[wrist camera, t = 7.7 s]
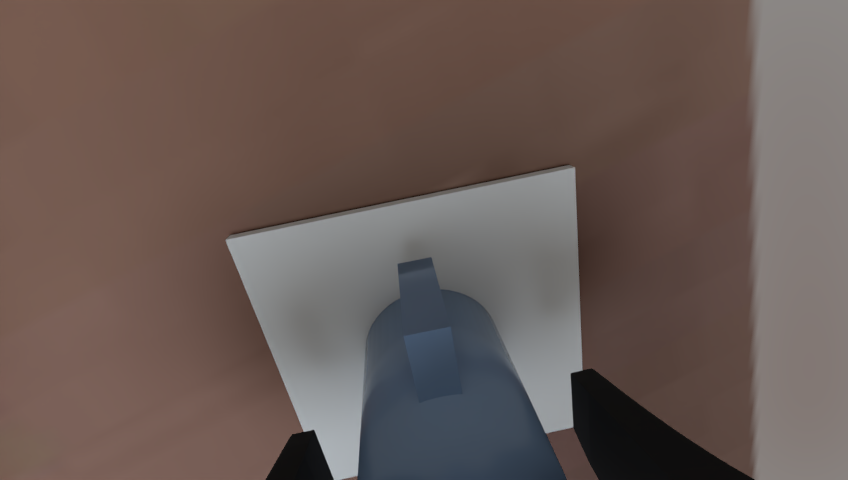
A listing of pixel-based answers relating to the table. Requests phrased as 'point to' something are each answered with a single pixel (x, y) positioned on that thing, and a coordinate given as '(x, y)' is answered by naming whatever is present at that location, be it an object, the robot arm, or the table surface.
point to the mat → (379, 287)
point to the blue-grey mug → (445, 393)
